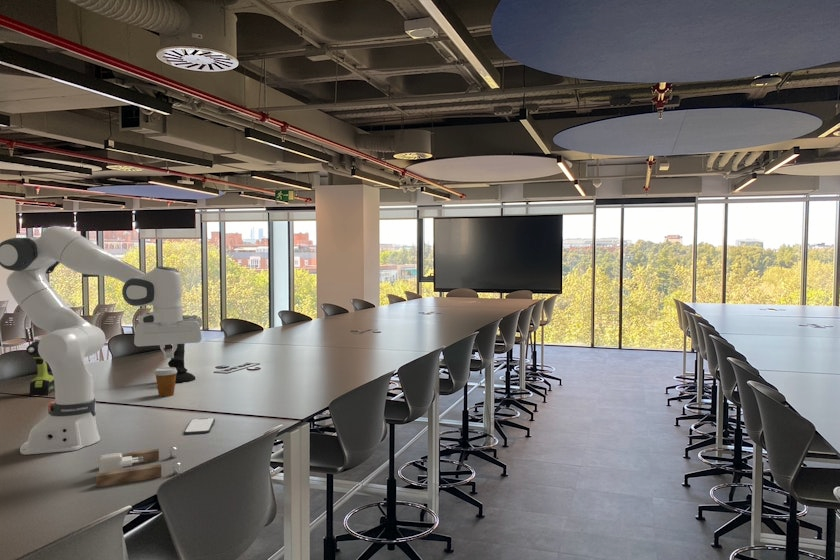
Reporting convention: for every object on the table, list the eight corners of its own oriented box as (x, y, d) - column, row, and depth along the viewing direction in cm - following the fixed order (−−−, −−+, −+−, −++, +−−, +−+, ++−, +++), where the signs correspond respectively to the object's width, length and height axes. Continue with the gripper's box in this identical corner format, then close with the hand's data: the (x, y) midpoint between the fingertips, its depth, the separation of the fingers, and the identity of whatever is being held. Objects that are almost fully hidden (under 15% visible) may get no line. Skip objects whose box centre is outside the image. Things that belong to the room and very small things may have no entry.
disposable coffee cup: (169, 398, 252) (168, 371, 252) (150, 397, 254) (149, 370, 254) (182, 393, 262) (181, 367, 261) (163, 392, 264) (163, 366, 263)
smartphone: (209, 435, 201) (215, 421, 216) (209, 430, 201) (215, 417, 216) (183, 436, 199) (191, 423, 214) (182, 432, 199) (191, 419, 214)
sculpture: (196, 376, 299) (196, 329, 299) (191, 386, 277) (191, 335, 276) (165, 378, 295) (164, 330, 294) (157, 388, 273) (157, 336, 272)
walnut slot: (96, 487, 153) (96, 476, 153) (99, 467, 168) (99, 457, 168) (161, 476, 160) (161, 466, 160) (158, 458, 175) (158, 448, 175)
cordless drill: (40, 401, 248) (38, 344, 247) (21, 402, 245) (19, 344, 245) (55, 389, 270) (54, 337, 269) (38, 390, 267) (37, 338, 267)
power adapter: (142, 467, 167) (142, 447, 167) (143, 472, 163) (143, 452, 163) (99, 474, 162) (99, 454, 162) (99, 480, 158) (98, 459, 158)
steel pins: (173, 475, 161) (172, 464, 161) (169, 456, 176) (169, 447, 176) (180, 473, 162) (180, 463, 162) (176, 455, 177) (176, 446, 177)
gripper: (200, 313, 193) (201, 354, 194) (133, 316, 184) (134, 359, 184) (202, 315, 188) (203, 356, 188) (133, 318, 178) (134, 362, 179)
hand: (168, 358), depth 186 cm, fingers closed
